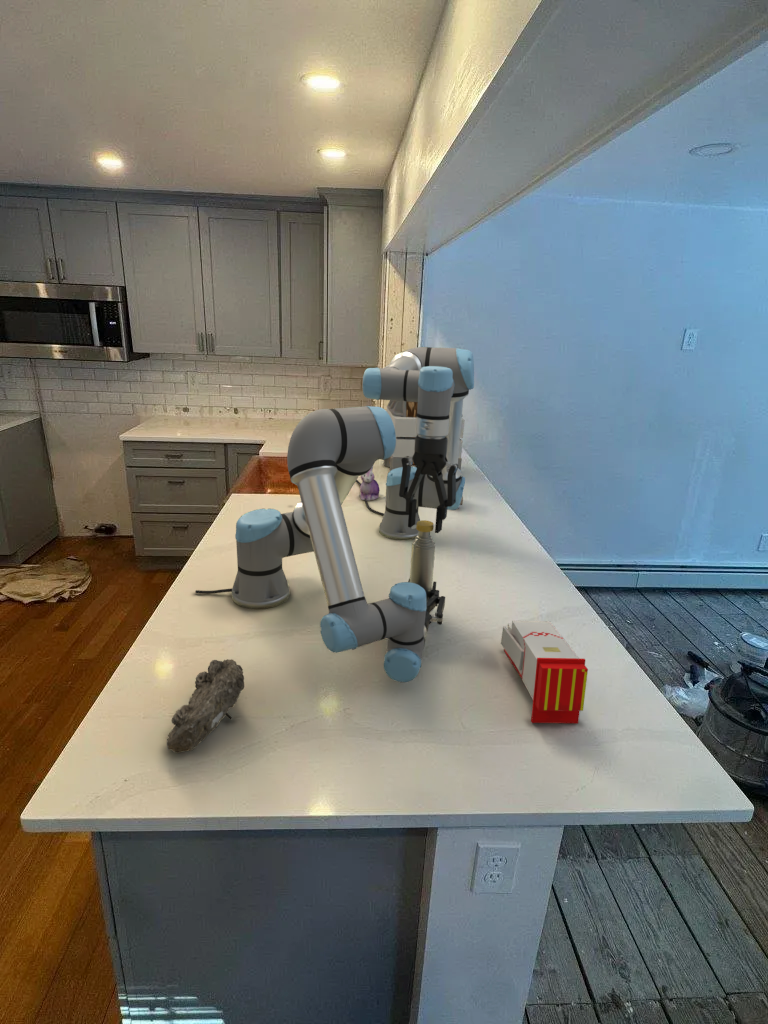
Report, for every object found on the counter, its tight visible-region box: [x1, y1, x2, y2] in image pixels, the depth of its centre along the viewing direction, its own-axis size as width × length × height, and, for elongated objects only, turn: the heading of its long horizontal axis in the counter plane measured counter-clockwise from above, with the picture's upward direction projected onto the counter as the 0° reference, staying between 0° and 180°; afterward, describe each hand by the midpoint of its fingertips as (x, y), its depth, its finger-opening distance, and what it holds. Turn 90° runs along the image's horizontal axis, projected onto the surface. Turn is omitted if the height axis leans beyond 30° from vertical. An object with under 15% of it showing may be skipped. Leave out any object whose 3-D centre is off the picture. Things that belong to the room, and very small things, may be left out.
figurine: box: [359, 465, 381, 502], centre depth 233 cm, size 9×10×15 cm
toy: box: [500, 620, 589, 724], centre depth 121 cm, size 12×13×30 cm
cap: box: [416, 519, 435, 533], centre depth 139 cm, size 4×4×2 cm
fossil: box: [166, 658, 245, 754], centre depth 106 cm, size 22×10×15 cm
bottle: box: [409, 531, 436, 615], centre depth 143 cm, size 6×6×25 cm
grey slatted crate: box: [383, 400, 465, 472], centre depth 268 cm, size 34×33×41 cm
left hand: (422, 584), depth 150 cm, fingers closed on bottle, 6 cm apart
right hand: (424, 528), depth 139 cm, fingers open, 6 cm apart
